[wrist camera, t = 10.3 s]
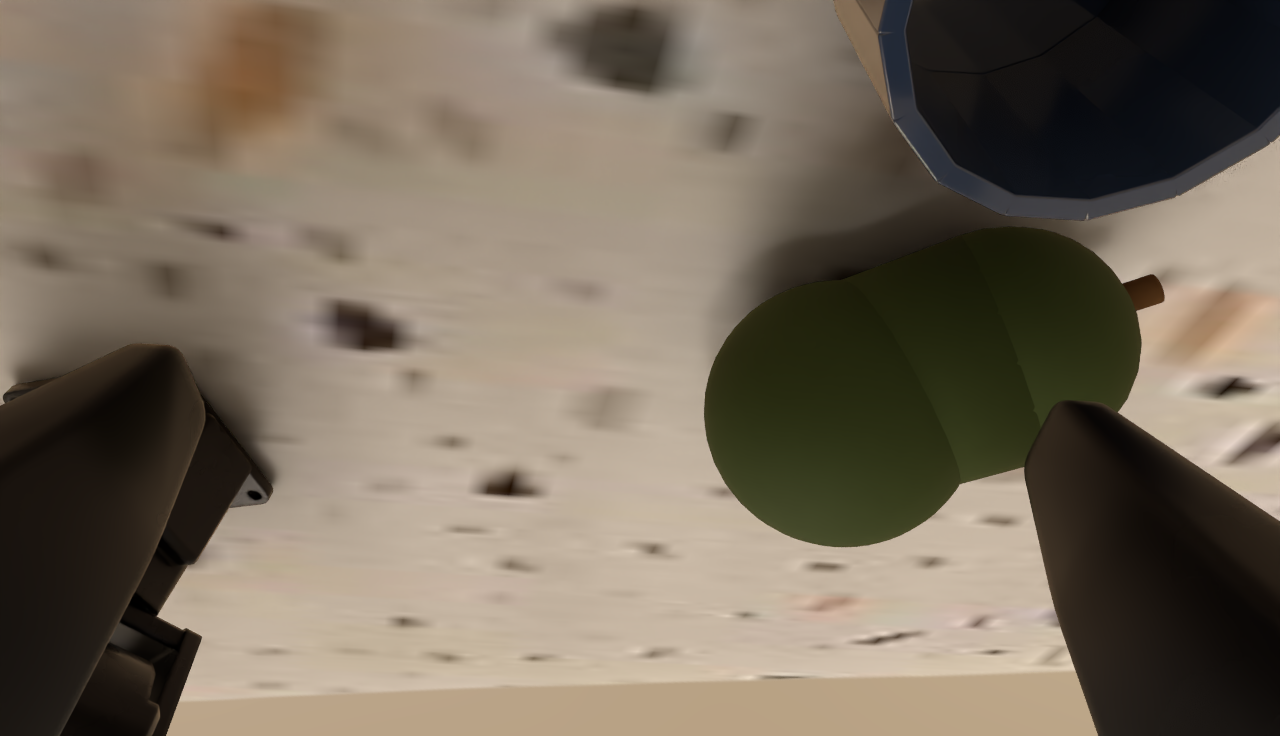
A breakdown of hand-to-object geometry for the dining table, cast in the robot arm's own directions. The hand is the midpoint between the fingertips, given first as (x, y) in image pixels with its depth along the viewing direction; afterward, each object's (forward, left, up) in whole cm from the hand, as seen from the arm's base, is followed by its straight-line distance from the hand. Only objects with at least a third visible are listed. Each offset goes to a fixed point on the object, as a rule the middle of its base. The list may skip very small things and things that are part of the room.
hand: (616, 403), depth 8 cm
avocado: (+5, -8, -12) cm, 16 cm away
